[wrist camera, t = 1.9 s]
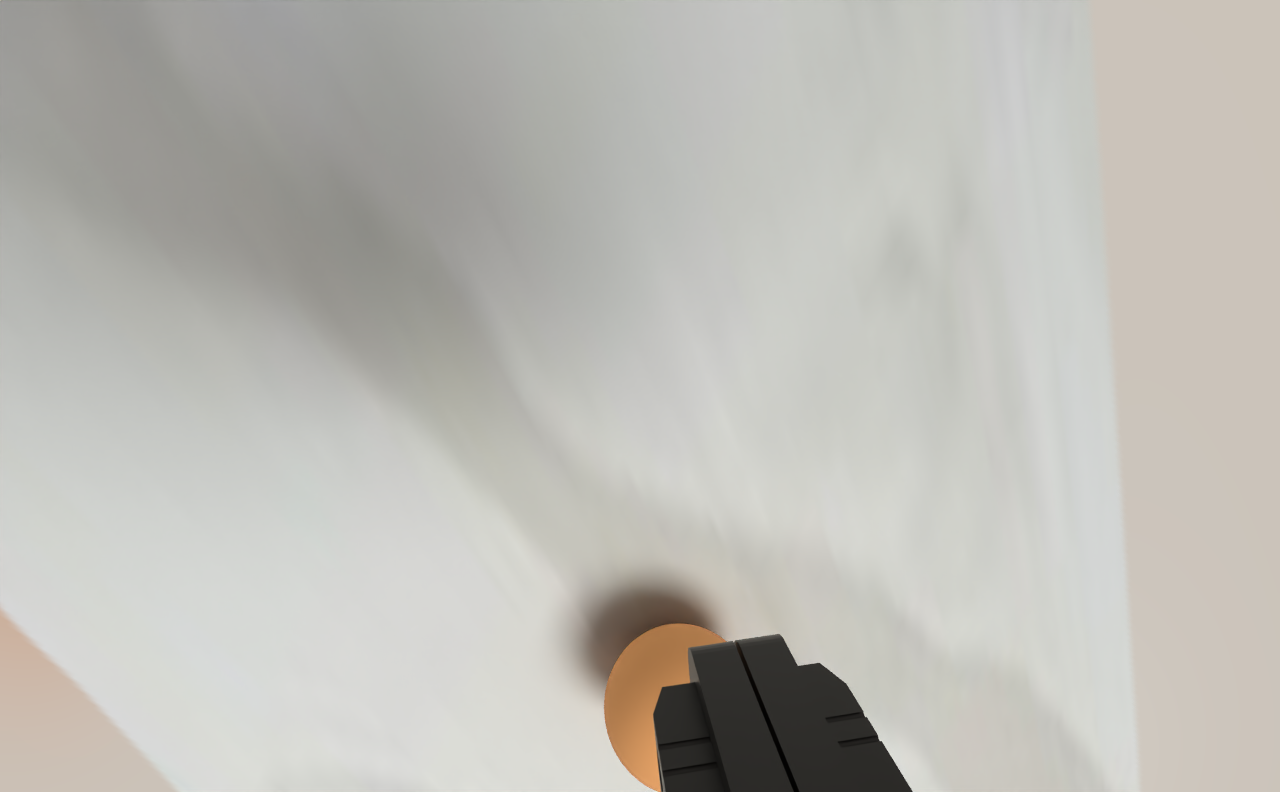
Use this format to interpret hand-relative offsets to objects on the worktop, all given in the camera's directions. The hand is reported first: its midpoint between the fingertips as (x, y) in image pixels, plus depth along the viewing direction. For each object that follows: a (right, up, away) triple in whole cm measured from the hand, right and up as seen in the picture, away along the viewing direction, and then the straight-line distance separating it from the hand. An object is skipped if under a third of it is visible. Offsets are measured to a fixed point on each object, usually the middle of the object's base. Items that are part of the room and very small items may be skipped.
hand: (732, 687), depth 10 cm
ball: (0, -6, +12) cm, 14 cm away
